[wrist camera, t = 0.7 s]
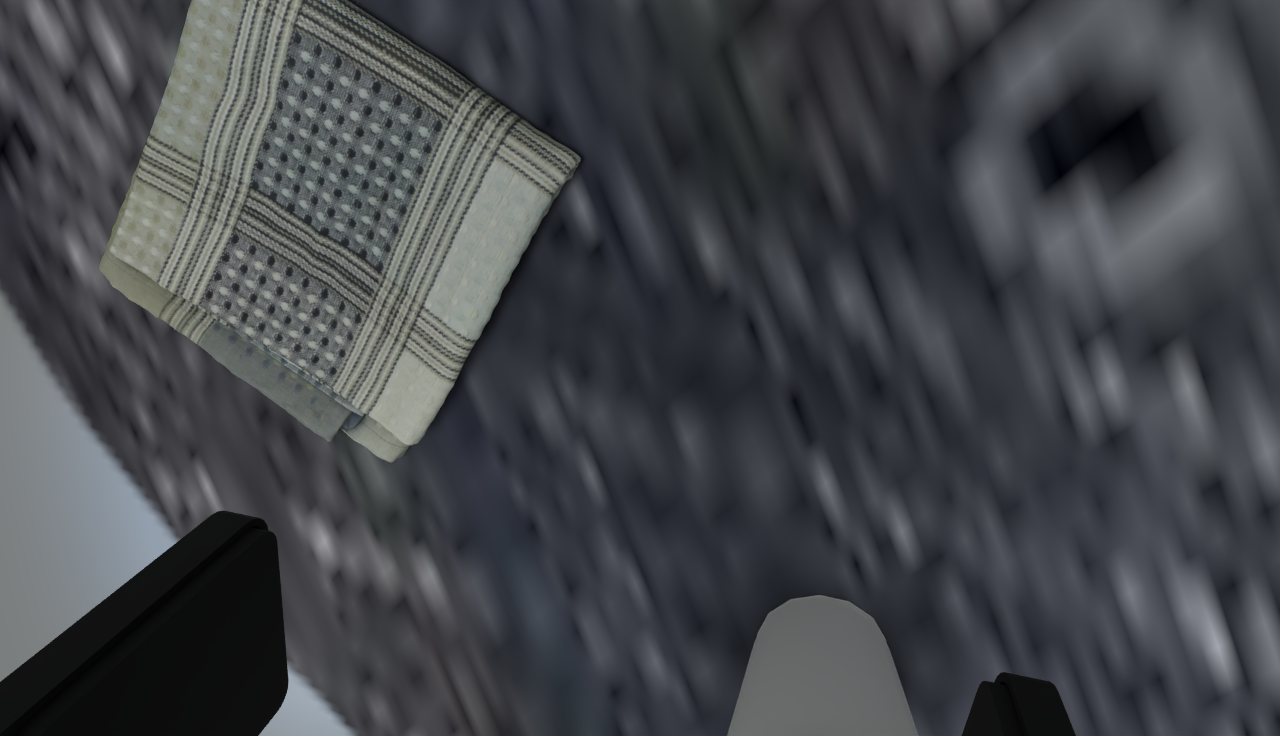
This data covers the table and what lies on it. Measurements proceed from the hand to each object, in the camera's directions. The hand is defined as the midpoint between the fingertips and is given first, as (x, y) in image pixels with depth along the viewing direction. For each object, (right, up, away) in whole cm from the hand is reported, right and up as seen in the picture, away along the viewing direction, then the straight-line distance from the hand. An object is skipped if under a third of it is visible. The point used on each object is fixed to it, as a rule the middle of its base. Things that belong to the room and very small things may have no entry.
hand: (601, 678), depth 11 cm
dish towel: (-14, +11, +27) cm, 32 cm away
